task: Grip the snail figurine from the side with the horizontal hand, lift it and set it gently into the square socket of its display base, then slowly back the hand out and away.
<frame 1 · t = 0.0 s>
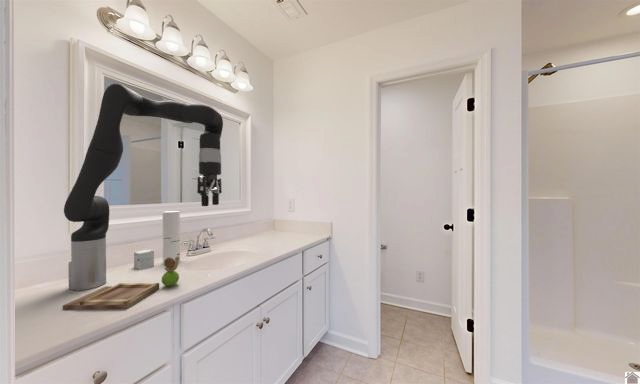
hand: (210, 205, 88), 29 cm above the counter, tool pointing down, fingers open, 8 cm apart
skincare box: (144, 267, 109), on the counter
display base: (115, 298, 77), on the counter
snail figurine: (171, 286, 87), on the counter
cylindrical container: (171, 263, 116), on the counter
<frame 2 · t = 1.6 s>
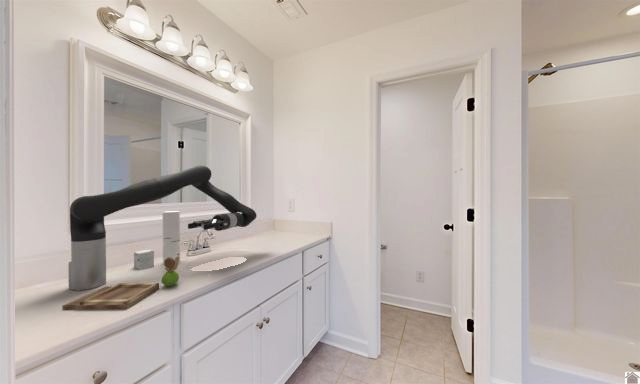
hand: (196, 226, 97), 20 cm above the counter, tool horizontal, fingers open, 8 cm apart
nothing on the counter moved.
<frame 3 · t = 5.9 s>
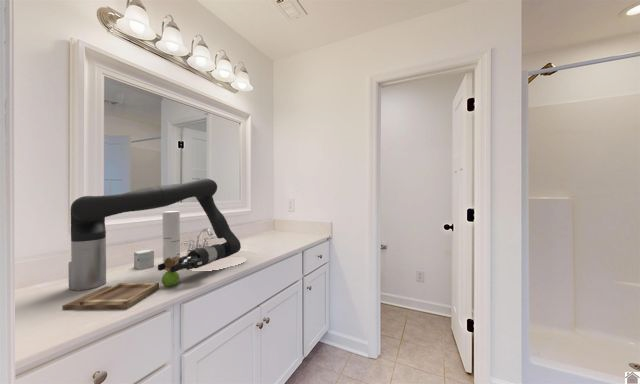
hand: (164, 268, 84), 7 cm above the counter, tool horizontal, fingers closed on snail figurine, 5 cm apart
snail figurine: (171, 286, 87), on the counter, touching gripper
everything else where it was.
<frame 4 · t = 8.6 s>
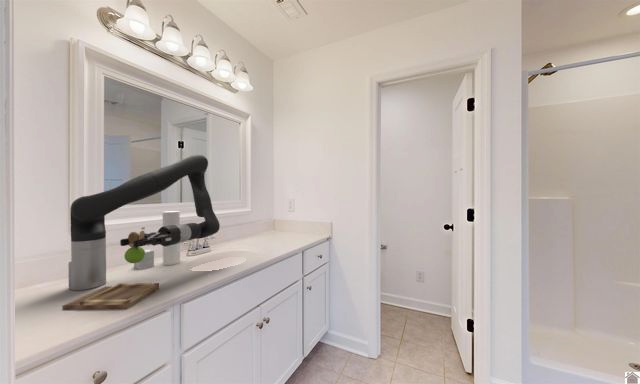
hand: (127, 243, 77), 18 cm above the counter, tool horizontal, fingers closed on snail figurine, 5 cm apart
snail figurine: (136, 263, 79), point 11 cm above the counter, touching gripper
everything else where it was.
when the fingers open (9 cm above the counter, at t = 11.6 s): snail figurine stays where it is, resting on display base.
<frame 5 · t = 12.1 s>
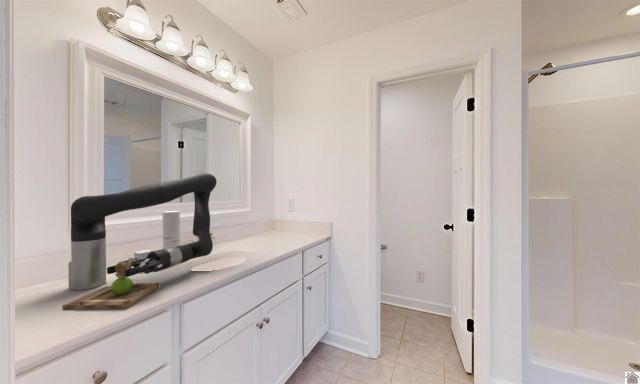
hand: (116, 272, 75), 9 cm above the counter, tool horizontal, fingers open, 8 cm apart
snail figurine: (123, 294, 77), point 1 cm above the counter, touching display base
everything else where it was.
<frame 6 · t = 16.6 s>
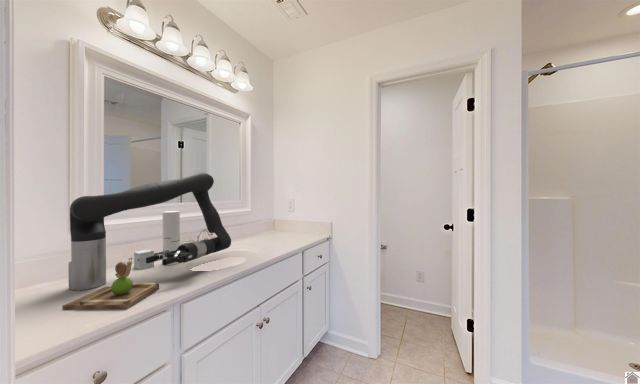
hand: (154, 261, 86), 9 cm above the counter, tool horizontal, fingers open, 8 cm apart
nothing on the counter moved.
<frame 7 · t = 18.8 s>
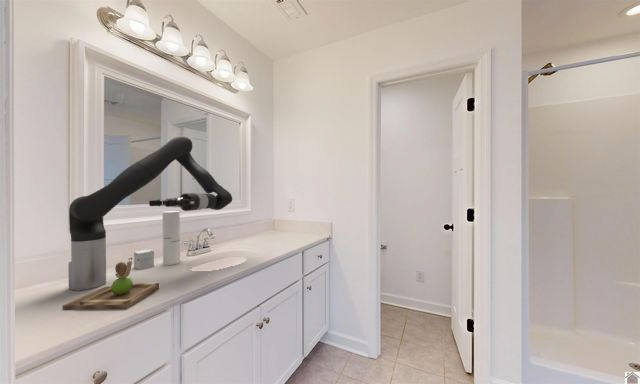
hand: (157, 203, 88), 30 cm above the counter, tool horizontal, fingers open, 8 cm apart
nothing on the counter moved.
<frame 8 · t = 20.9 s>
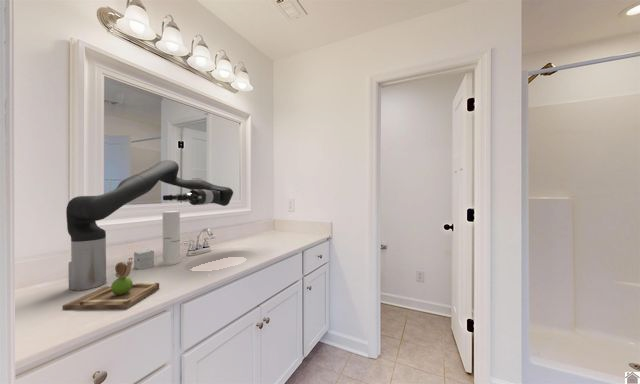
hand: (170, 197, 102), 32 cm above the counter, tool horizontal, fingers open, 8 cm apart
nothing on the counter moved.
at the end: snail figurine inside the target area on the display base (0.2 cm from its centre), point 1.0 cm above the display base's base; snail figurine tilted 0°; the gripper is holding nothing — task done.
